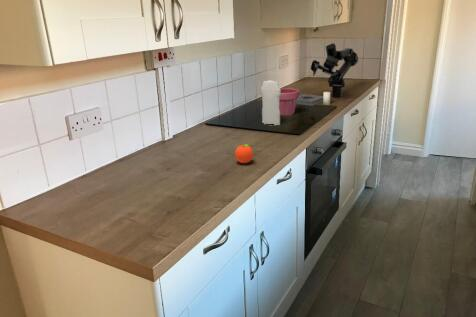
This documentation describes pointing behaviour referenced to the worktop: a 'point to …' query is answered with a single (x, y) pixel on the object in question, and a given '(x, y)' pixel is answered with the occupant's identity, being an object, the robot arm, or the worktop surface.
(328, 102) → the peg
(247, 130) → the worktop surface
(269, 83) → the tall pale column
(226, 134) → the worktop surface
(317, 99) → the hole plate
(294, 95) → the plant pot
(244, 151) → the clementine
